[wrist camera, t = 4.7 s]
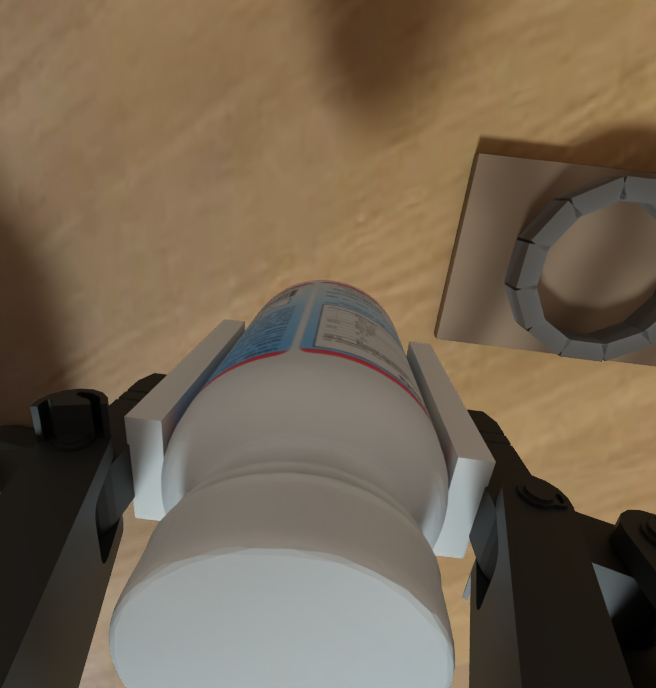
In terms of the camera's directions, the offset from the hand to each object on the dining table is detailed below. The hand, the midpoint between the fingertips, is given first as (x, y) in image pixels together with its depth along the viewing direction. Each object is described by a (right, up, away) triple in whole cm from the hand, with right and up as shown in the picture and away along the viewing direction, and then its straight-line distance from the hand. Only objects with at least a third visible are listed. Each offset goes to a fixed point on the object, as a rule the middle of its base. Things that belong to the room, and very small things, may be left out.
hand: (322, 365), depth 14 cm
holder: (+18, +6, +11) cm, 22 cm away
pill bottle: (0, +1, +2) cm, 2 cm away
